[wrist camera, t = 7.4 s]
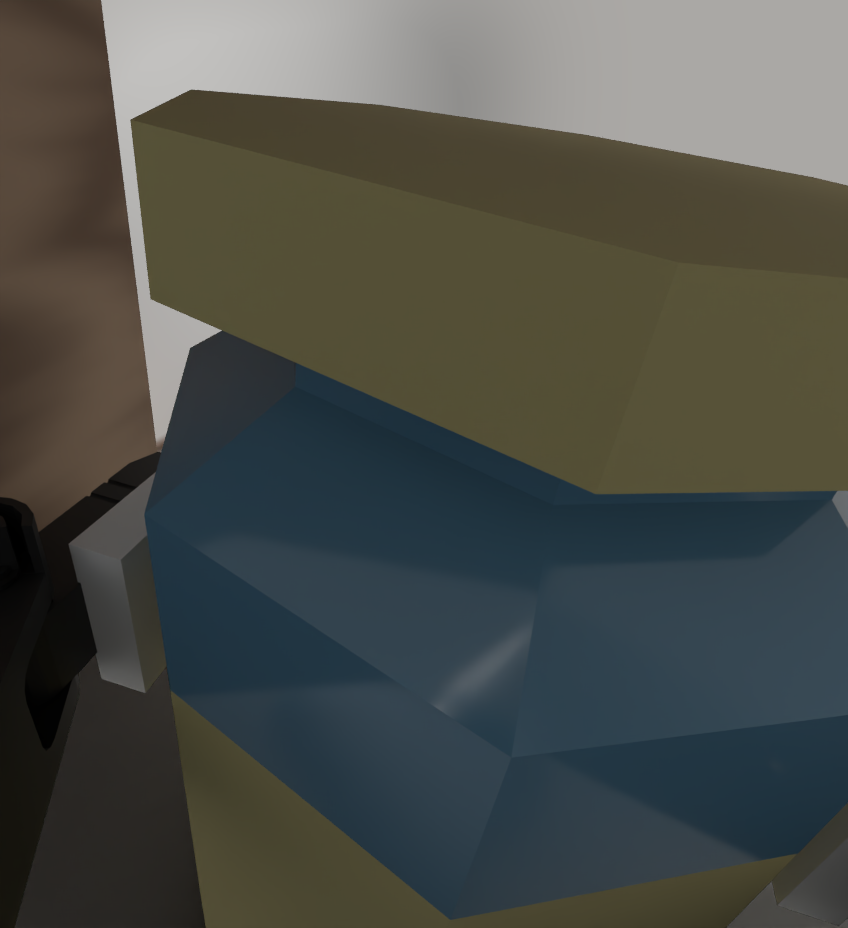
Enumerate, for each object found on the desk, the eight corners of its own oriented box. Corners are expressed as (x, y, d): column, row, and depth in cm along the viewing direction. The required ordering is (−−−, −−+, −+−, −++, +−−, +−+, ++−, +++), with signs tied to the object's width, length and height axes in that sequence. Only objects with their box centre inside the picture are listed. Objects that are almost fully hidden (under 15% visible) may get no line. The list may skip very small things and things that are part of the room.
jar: (598, 741, 18) (878, 182, 9) (631, 1247, 10) (2320, 580, 2) (297, 665, 18) (315, 88, 10) (109, 1080, 11) (-430, 72, 2)
